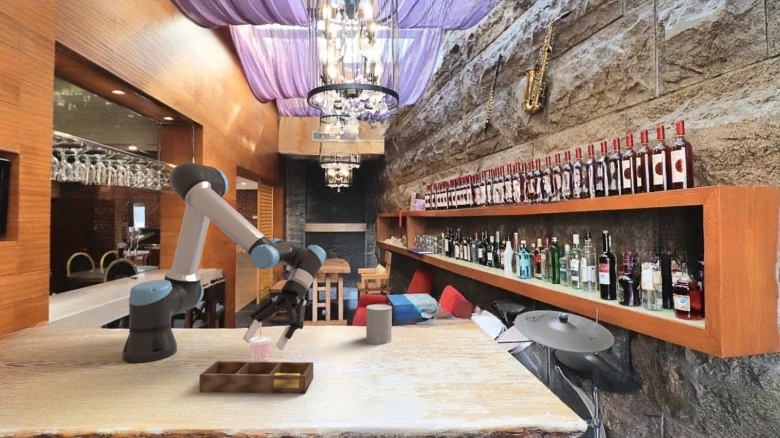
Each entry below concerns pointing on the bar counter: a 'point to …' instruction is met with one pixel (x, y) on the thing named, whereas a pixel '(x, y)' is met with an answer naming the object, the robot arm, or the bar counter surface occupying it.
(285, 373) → the brown wooden compartment tray
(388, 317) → the gray concrete cylinder
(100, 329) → the bar counter surface
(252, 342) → the beverage cup
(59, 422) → the bar counter surface
